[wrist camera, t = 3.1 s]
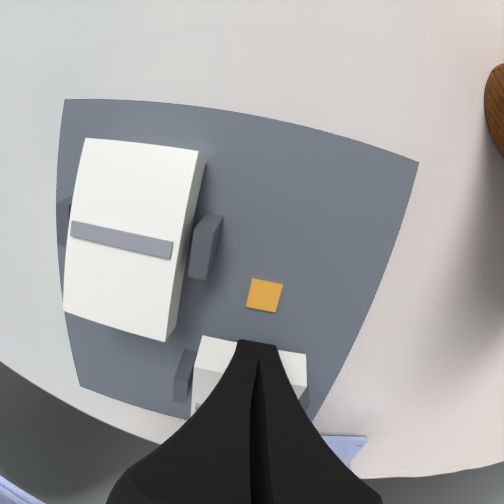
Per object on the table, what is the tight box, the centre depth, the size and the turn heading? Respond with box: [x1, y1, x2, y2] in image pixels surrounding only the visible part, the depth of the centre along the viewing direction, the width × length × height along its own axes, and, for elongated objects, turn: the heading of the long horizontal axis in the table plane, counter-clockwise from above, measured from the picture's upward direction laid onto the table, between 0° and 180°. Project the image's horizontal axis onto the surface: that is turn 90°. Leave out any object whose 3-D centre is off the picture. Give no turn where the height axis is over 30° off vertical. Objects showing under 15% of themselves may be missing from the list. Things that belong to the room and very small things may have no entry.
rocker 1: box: [63, 138, 206, 342], centre depth 9 cm, size 6×4×2 cm, turn 169°
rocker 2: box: [191, 335, 307, 416], centre depth 12 cm, size 6×4×2 cm, turn 169°
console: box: [56, 99, 419, 422], centre depth 13 cm, size 16×14×5 cm
